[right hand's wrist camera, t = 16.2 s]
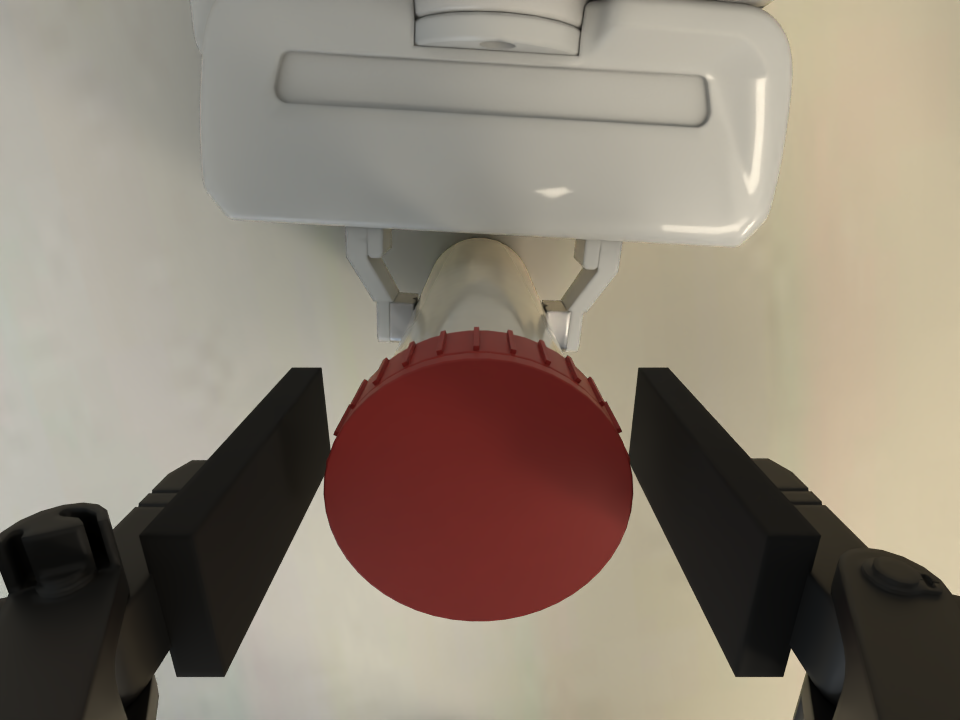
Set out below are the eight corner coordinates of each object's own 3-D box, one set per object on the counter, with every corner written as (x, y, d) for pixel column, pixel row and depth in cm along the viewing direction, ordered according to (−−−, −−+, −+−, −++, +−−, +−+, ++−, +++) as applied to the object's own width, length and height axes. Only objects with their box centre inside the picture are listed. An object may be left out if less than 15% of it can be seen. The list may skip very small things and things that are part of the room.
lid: (661, 377, 11) (691, 413, 10) (555, 592, 13) (566, 652, 12) (381, 286, 11) (363, 309, 9) (315, 527, 13) (290, 582, 11)
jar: (489, 355, 29) (502, 619, 12) (408, 299, 28) (302, 505, 11) (551, 278, 28) (660, 459, 11) (468, 216, 27) (447, 309, 10)
